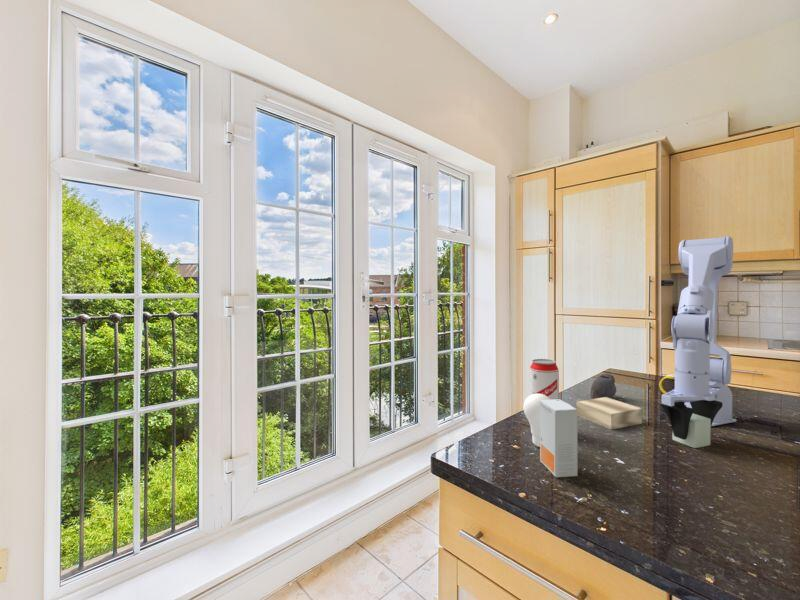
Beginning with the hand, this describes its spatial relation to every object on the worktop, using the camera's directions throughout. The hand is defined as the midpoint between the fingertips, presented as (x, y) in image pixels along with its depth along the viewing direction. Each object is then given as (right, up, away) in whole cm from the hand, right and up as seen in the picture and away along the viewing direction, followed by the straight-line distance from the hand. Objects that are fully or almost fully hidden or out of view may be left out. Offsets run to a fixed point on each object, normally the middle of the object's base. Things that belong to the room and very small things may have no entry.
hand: (691, 435), depth 77 cm
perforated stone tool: (-4, -1, +27) cm, 28 cm away
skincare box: (-32, -3, -10) cm, 34 cm away
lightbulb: (-32, -2, -1) cm, 32 cm away
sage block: (0, -2, 0) cm, 2 cm away
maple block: (-10, -2, +14) cm, 17 cm away
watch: (+20, 0, +33) cm, 38 cm away
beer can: (-28, -2, +8) cm, 29 cm away
